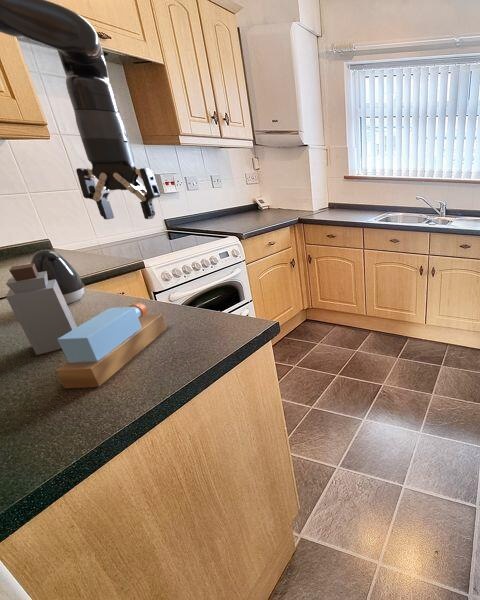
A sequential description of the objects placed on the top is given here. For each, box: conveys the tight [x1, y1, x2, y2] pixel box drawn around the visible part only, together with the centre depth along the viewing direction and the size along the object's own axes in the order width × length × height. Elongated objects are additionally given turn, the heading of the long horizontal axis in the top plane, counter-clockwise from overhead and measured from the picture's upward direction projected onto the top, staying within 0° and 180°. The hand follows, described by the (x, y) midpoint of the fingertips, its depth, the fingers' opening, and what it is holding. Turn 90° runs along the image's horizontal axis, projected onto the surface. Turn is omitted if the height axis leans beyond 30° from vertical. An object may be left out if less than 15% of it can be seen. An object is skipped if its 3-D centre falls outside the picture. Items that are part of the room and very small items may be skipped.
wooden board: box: [55, 313, 168, 389], centre depth 70 cm, size 22×6×4 cm, turn 4°
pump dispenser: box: [30, 249, 85, 305], centre depth 93 cm, size 10×10×15 cm
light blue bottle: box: [57, 302, 148, 363], centre depth 68 cm, size 18×5×5 cm, turn 4°
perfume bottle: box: [5, 263, 78, 356], centre depth 72 cm, size 7×7×18 cm
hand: (129, 218), depth 74 cm, fingers open, 8 cm apart
